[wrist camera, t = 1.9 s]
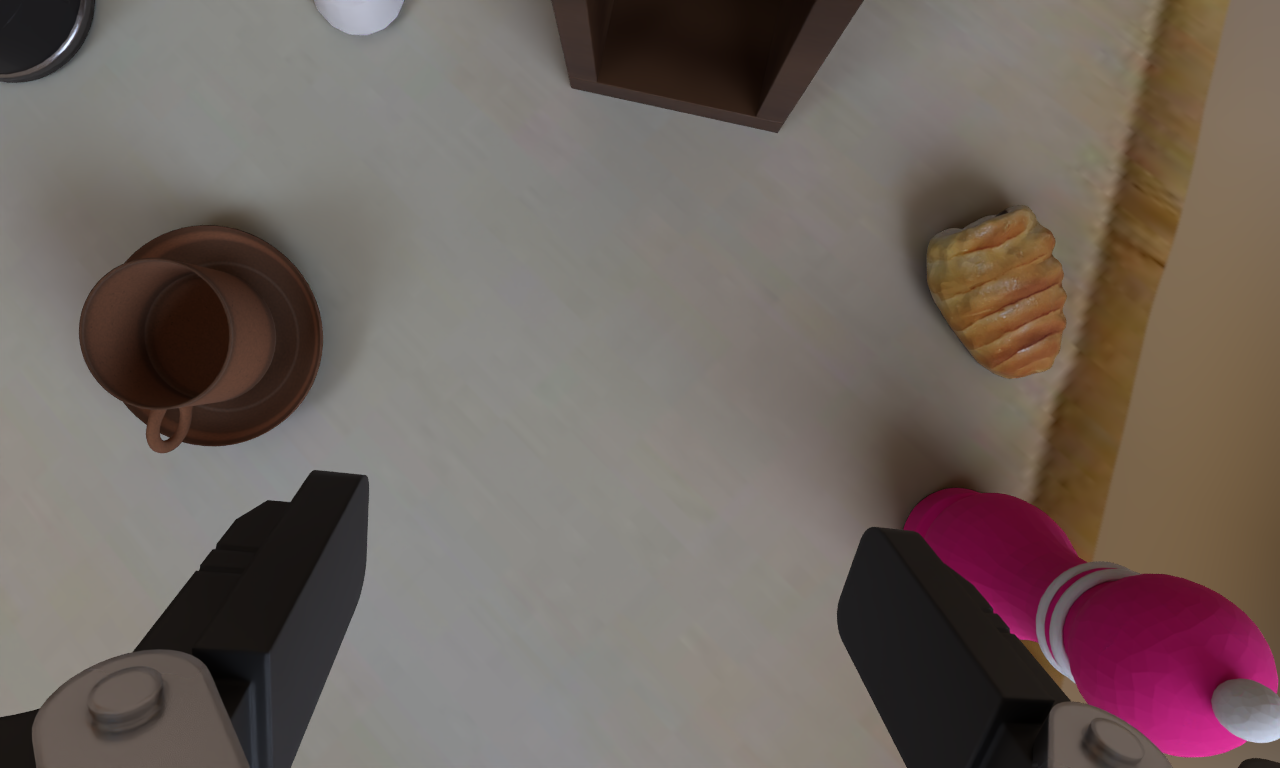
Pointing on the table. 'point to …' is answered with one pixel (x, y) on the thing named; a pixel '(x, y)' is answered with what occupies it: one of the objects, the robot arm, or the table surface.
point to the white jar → (359, 14)
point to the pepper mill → (1113, 625)
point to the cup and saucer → (204, 336)
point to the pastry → (1001, 291)
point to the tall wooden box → (702, 52)
